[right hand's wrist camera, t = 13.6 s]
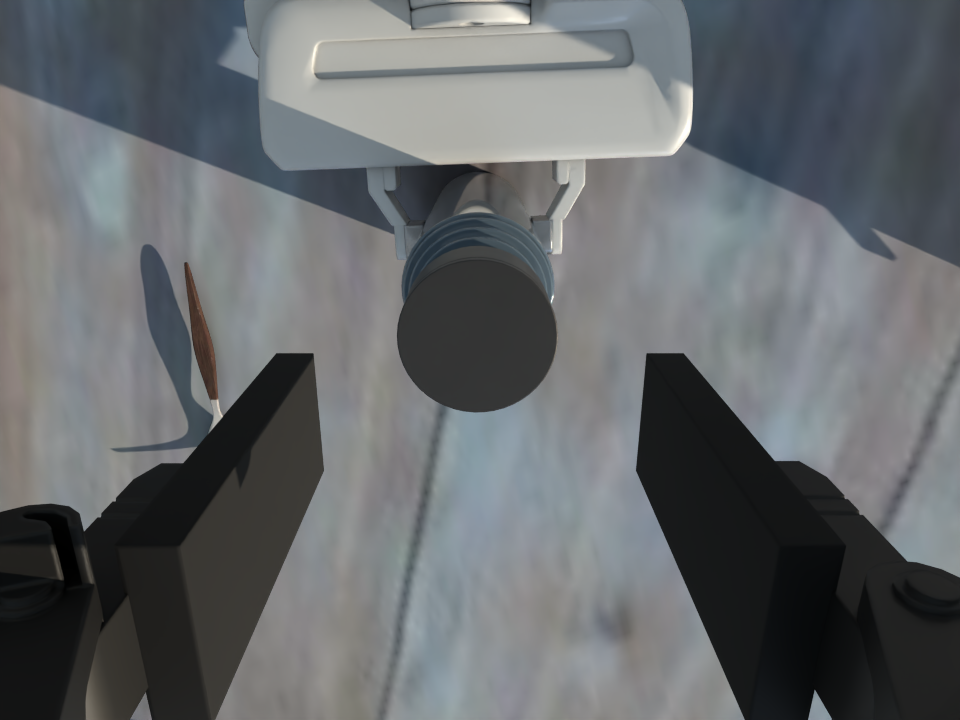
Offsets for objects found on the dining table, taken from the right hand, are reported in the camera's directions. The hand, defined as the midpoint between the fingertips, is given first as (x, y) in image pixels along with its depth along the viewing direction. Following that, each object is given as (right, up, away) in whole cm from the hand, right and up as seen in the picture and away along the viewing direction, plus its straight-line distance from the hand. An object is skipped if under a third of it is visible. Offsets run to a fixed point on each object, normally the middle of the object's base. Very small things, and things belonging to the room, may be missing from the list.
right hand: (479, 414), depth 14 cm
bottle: (0, +10, +27) cm, 29 cm away
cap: (0, +2, +5) cm, 5 cm away
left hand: (0, +7, +21) cm, 22 cm away
